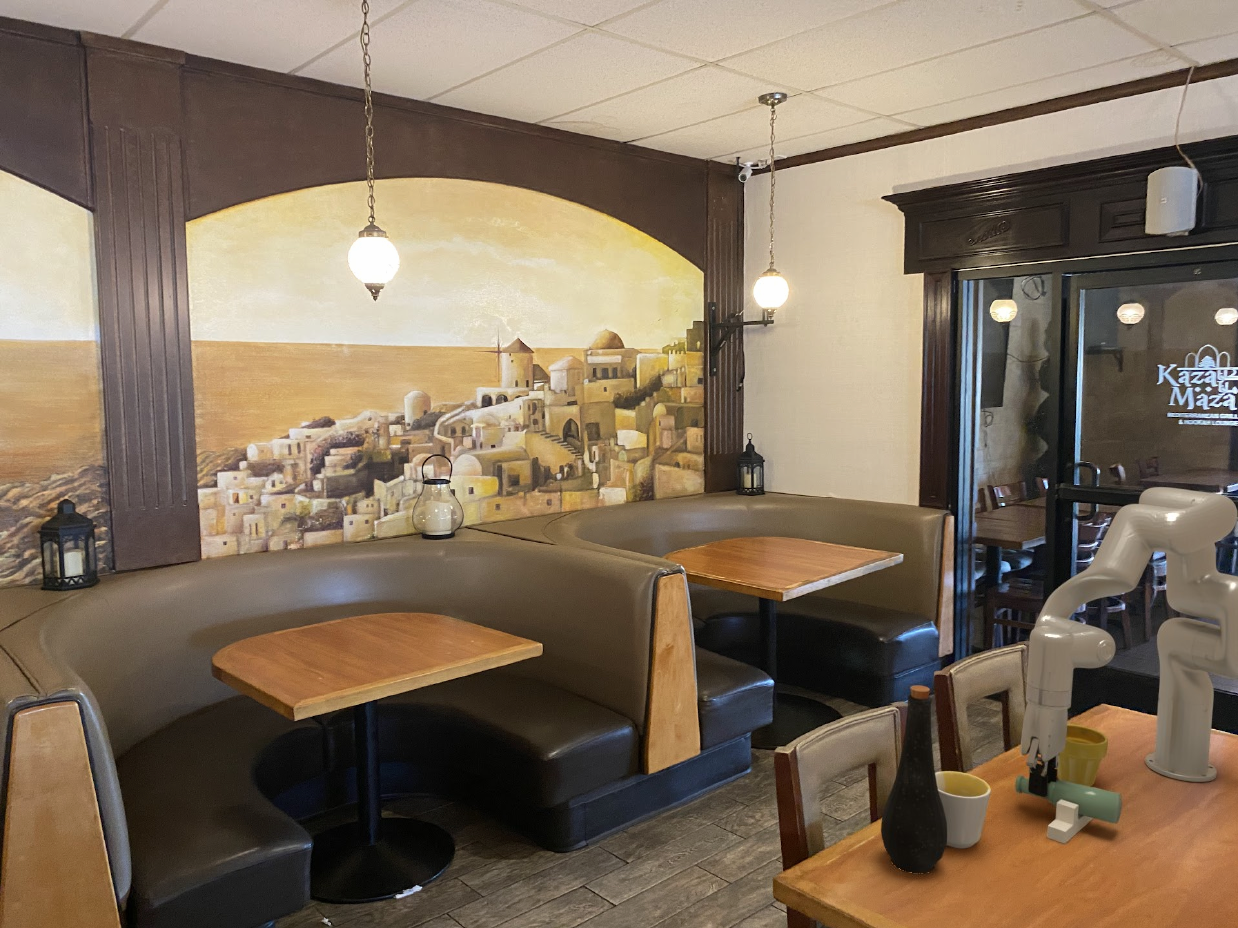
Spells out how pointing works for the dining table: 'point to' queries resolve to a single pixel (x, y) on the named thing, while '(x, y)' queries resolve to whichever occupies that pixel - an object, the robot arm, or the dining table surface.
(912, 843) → the bottle
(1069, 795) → the green bottle
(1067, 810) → the u rest
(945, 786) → the mug
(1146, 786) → the dining table surface
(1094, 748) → the plant pot
